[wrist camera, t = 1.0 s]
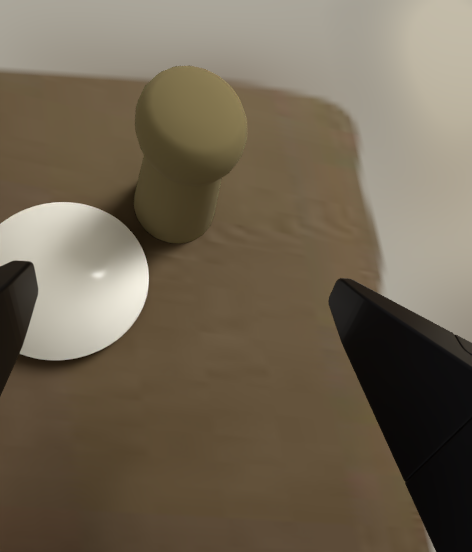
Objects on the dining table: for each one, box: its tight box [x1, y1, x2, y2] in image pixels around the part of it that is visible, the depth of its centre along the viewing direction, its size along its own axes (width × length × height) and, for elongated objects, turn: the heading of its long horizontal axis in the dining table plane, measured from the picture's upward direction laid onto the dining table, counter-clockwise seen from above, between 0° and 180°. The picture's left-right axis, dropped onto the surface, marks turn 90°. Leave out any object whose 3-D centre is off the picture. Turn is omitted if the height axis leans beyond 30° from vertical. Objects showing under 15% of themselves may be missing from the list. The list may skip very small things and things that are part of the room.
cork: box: [134, 66, 247, 243], centre depth 18 cm, size 6×6×11 cm
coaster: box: [0, 202, 149, 360], centre depth 20 cm, size 10×10×1 cm
